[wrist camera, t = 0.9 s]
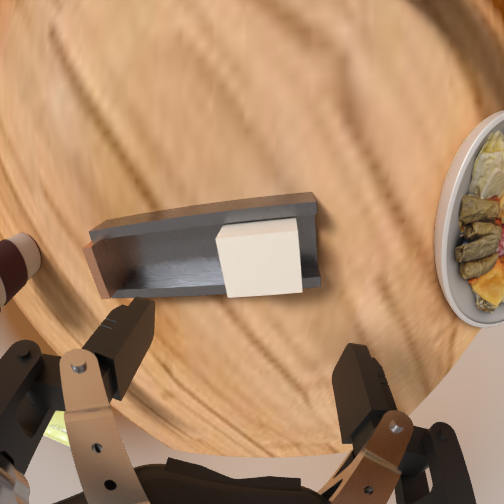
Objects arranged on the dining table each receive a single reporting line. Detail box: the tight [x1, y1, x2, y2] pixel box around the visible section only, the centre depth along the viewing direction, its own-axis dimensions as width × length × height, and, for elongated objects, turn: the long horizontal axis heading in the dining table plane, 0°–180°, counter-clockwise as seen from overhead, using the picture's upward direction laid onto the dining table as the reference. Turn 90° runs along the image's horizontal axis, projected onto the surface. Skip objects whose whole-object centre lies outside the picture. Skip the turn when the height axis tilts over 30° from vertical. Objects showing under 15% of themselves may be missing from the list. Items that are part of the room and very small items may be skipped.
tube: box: [43, 410, 70, 447], centre depth 36 cm, size 6×5×20 cm
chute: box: [83, 192, 321, 299], centre depth 30 cm, size 25×9×6 cm, turn 98°
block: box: [216, 216, 302, 298], centre depth 28 cm, size 7×6×6 cm
